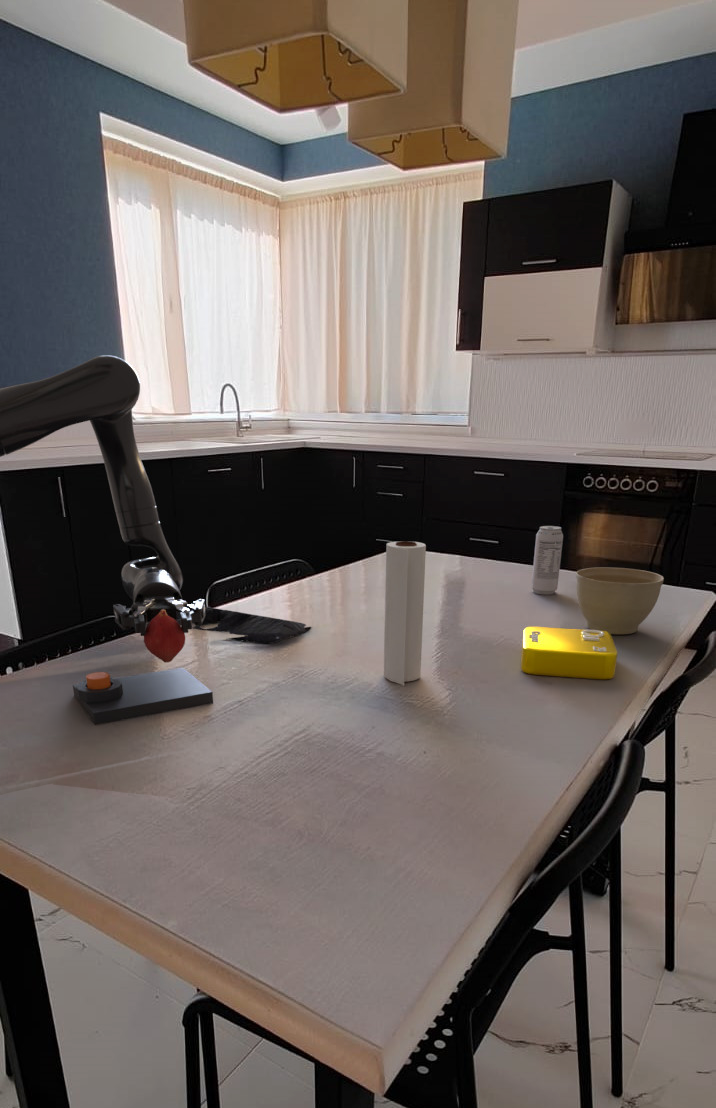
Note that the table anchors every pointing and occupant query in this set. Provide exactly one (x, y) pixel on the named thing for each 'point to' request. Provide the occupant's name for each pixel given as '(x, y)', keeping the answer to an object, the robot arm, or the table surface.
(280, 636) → the dark slate chunk
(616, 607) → the planter bowl
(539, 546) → the energy drink can
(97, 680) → the button
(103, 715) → the scale
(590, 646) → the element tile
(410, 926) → the table surface
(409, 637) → the paper towel roll
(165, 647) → the onion
